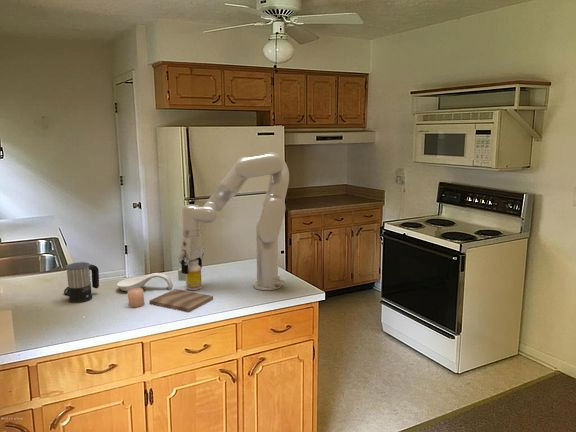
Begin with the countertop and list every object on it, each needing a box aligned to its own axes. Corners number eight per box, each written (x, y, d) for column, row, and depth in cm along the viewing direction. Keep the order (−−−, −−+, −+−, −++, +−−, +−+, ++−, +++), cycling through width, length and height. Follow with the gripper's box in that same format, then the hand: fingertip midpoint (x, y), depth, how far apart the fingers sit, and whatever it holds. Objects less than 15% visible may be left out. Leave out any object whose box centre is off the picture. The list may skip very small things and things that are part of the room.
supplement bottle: (203, 289, 215) (202, 261, 213) (187, 291, 212) (186, 263, 210) (199, 285, 221) (199, 257, 219) (185, 286, 219) (184, 259, 216)
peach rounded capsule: (147, 302, 198) (146, 288, 197) (138, 308, 193) (136, 293, 192) (135, 301, 200) (133, 287, 199) (125, 306, 195) (124, 292, 194)
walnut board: (213, 299, 203) (213, 295, 202) (189, 312, 189) (189, 308, 188) (175, 292, 211) (175, 288, 211) (149, 304, 197) (149, 300, 197)
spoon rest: (114, 294, 209) (113, 278, 208) (120, 286, 220) (119, 270, 219) (170, 293, 211) (169, 277, 210) (173, 284, 222) (173, 269, 221)
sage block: (192, 277, 232) (191, 267, 231) (188, 280, 227) (188, 270, 226) (182, 277, 233) (181, 267, 232) (178, 280, 228) (178, 270, 227)
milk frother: (83, 304, 197) (80, 268, 195) (49, 301, 201) (46, 266, 198) (103, 292, 211) (101, 259, 208) (71, 290, 214) (68, 257, 212)
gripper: (185, 237, 203) (186, 277, 206) (210, 230, 218) (210, 267, 221) (171, 235, 206) (172, 274, 209) (196, 228, 221) (196, 264, 224)
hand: (191, 270), depth 215 cm, fingers open, 9 cm apart
